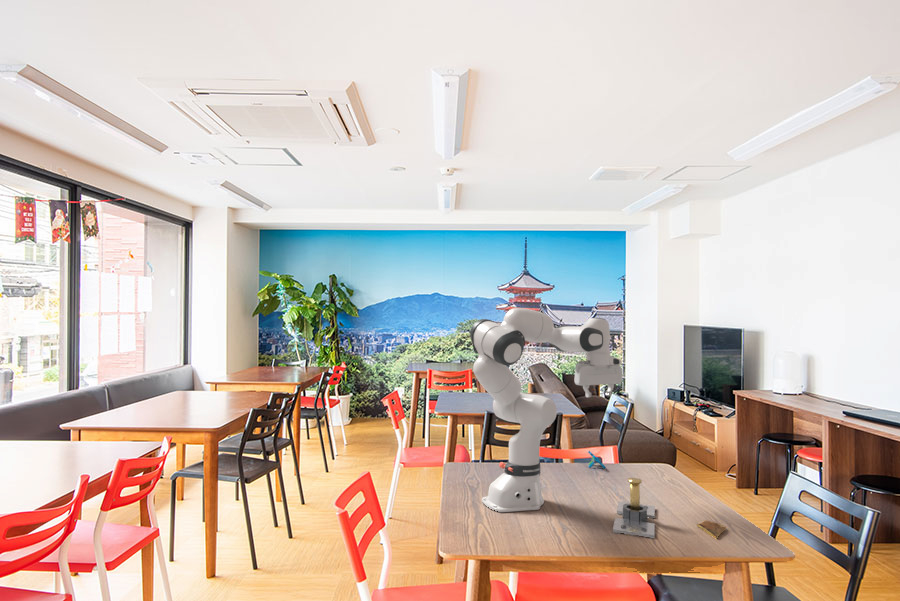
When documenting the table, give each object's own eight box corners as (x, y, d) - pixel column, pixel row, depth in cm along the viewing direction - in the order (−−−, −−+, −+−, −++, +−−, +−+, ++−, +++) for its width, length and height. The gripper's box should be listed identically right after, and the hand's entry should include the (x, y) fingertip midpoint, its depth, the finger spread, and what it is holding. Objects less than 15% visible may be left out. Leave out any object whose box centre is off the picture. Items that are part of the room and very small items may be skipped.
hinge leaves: (654, 538, 152) (654, 525, 152) (612, 532, 156) (612, 519, 157) (654, 508, 177) (654, 497, 177) (618, 504, 181) (618, 492, 182)
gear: (608, 467, 222) (591, 450, 224) (599, 477, 222) (582, 460, 224) (604, 464, 233) (588, 448, 235) (595, 473, 232) (579, 457, 235)
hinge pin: (634, 523, 164) (634, 482, 164) (625, 518, 168) (624, 478, 168) (645, 521, 165) (644, 480, 166) (635, 516, 170) (634, 477, 170)
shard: (716, 541, 151) (716, 535, 151) (690, 534, 157) (690, 528, 157) (727, 531, 159) (727, 525, 159) (701, 524, 165) (701, 518, 165)
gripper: (581, 361, 186) (581, 399, 186) (624, 360, 194) (625, 396, 193) (570, 360, 192) (570, 396, 191) (613, 359, 200) (613, 394, 199)
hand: (598, 396), depth 192 cm, fingers open, 8 cm apart
